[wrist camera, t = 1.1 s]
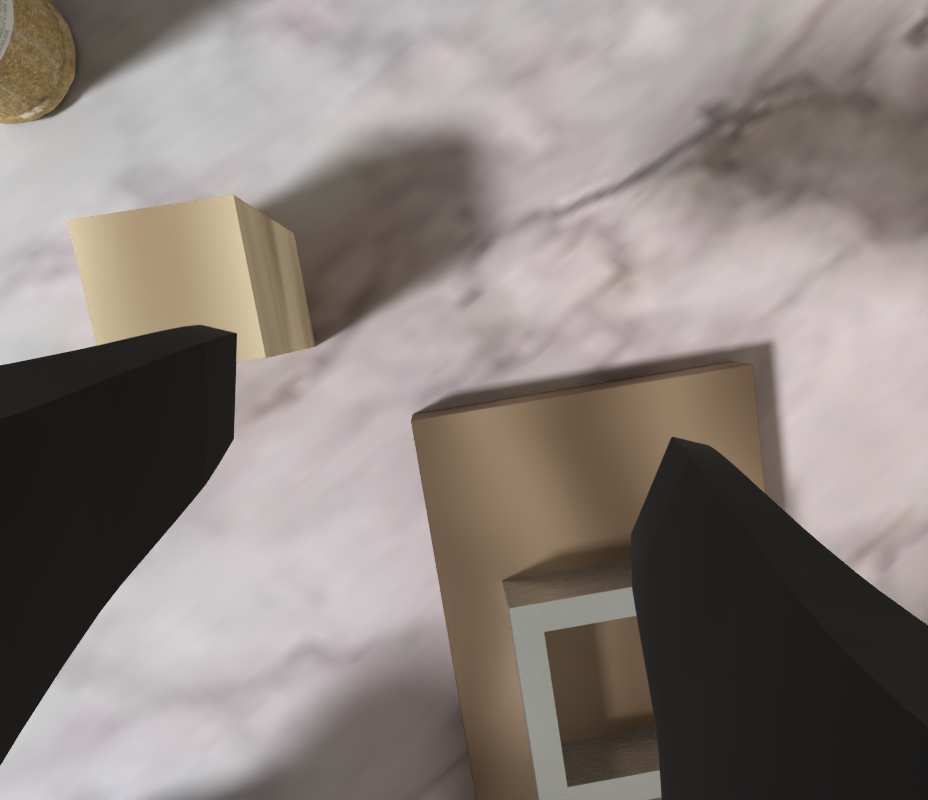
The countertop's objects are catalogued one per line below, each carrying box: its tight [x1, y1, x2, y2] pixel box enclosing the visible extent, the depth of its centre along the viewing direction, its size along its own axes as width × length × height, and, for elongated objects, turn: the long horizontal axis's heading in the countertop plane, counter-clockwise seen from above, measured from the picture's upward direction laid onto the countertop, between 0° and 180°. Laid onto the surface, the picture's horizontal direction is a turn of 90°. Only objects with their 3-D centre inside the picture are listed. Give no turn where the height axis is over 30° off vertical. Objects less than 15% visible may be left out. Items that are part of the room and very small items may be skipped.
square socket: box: [502, 558, 661, 800], centre depth 22 cm, size 8×8×2 cm
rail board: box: [411, 362, 765, 800], centre depth 24 cm, size 12×20×2 cm, turn 9°
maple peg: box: [67, 195, 315, 363], centre depth 19 cm, size 4×4×7 cm
